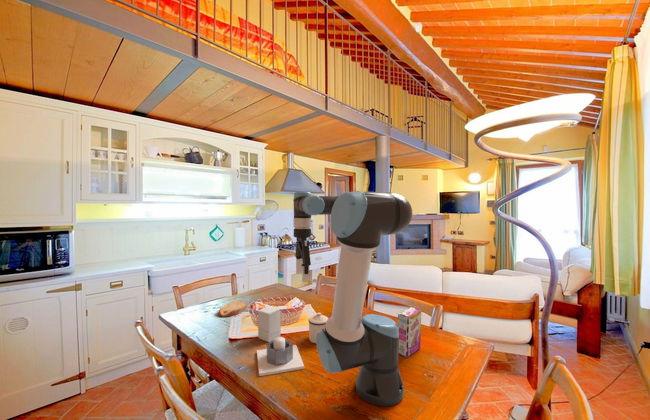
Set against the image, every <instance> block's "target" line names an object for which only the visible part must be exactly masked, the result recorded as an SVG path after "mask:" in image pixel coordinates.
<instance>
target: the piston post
mask: <svg viewBox="0 0 650 420" xmlns="http://www.w3.org/2000/svg"><path fill="white" fill-rule="evenodd" d="M285 339H286V338H285V337H283V336H280V337H277V338H275V339H274V349H275V350H281V349H285ZM292 345H293V359H292V360H291V361H290V362H288V363H287V364H283V365H277V366H275V365H272V364H269V363H267V358H266V348H263V349H257V350H256V356H257V357H256V358H257V368H258V377H263V376H264V377H265V376H269V375H275V374H281V373H282V374H283V373H286V372H287V373H288V372H294V371H300V370H304V369H305V365H304V362H303V358H302V357H301V354H300V352H299V348H298V346H297V344H292Z"/></svg>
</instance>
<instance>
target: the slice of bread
mask: <svg viewBox="0 0 650 420" xmlns="http://www.w3.org/2000/svg"><path fill="white" fill-rule="evenodd" d="M246 309H247V303H246V301H242V300H233V301H231V302H229V303H226V304H225V305H223V306H221V307H220V308H219V310H218V312H217V316H218V317H220V318H225V319H226V318H230V317H234V316H237V315H240V314H241V313H243V312H244V311H245V310H246ZM233 315H234V316H233Z"/></svg>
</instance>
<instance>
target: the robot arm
mask: <svg viewBox="0 0 650 420" xmlns="http://www.w3.org/2000/svg"><path fill="white" fill-rule="evenodd" d="M292 200H293V227H294V228H293V238H296V245H295V254H294V256H295V262H296V263H295V265H296V267H295V272H296V273H295V274H296V275H301V277H302V279H301V281H302V283H309V282H310V266H311V264H312V263H311V254H310V253H311V252H310V240H307V239H308V238H311V237H312V228H311V227H312V223H313V220H312V216H319V215H320V216H324V215H325V216H326V215H327V216H328V215H330V223H331V224H330V228H331V231H332V233H333V235H334V236H335V237H336V241H337V242H338V243H339V244H340V253H339V260H338V265H337V266H338V267H337V276H336V283H335V290H334V297H333V305H332V313H331V316H330V317H328V320H327V321H326V325H325V330H324V331H322V330H321V331H320V332H318V333H317V335H316V343H315V344H316V348H317V353H318V357H319V359H320V360H319V361H320V363H321V365H322V367H323V368H324V370H325V371H326V372H328V373H329V374H336V373H342V372H344V371H348V370H352V369H357V368H359V370H358V374H357V377H356V380H355V389H356V390H355V391H356V393H357V395H358V396H359V397H360V398H361V399H362V400H363V401H365V402H366V403H369V404H371V405H374V406H378V407H391V406H394V405H397V404H399V403H400V402H401V401H402V400H403V399H404V397H405V395H404V393H405V390H404V389H405V388H404V387H405V385H404V382H403V379H402V375H401V372H400V369H399V354H398V344H399V333H398V323H397V322H396V321H394V320H393V319H392V318H390V317H388V316H384V315H381V314H374V313H372V314H370V313H369V314H365V315H363V311H364V304H365V298H366V294H367V293H366V292H367V287H368V280H369V274H370V268H371V262H372V257H373V251H374V250H376V249H378V248H379V246H380V244H381V238H382V236H389V235H390V236H391V235H395V234H399V233H400V232H403V231H405V230H406V228H408V226H409V225H410V223H411V222H412V218H413V209H412V205H411V203H410V201H409V200H408V199H407V198H406V197H405V196H404V195H401V194H399V193H396V192H389V191H387V192H382V191H381V192H380V191H379V192H378V191H359V190H356V191H346V192H343V193H341V194H340V195H338V196H336V195H331V196H329V195H327V196H326V195H314V194H312V193H311V192H310V191H296V192H295V191H294V193H293V199H292ZM362 315H363V316H362Z"/></svg>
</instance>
